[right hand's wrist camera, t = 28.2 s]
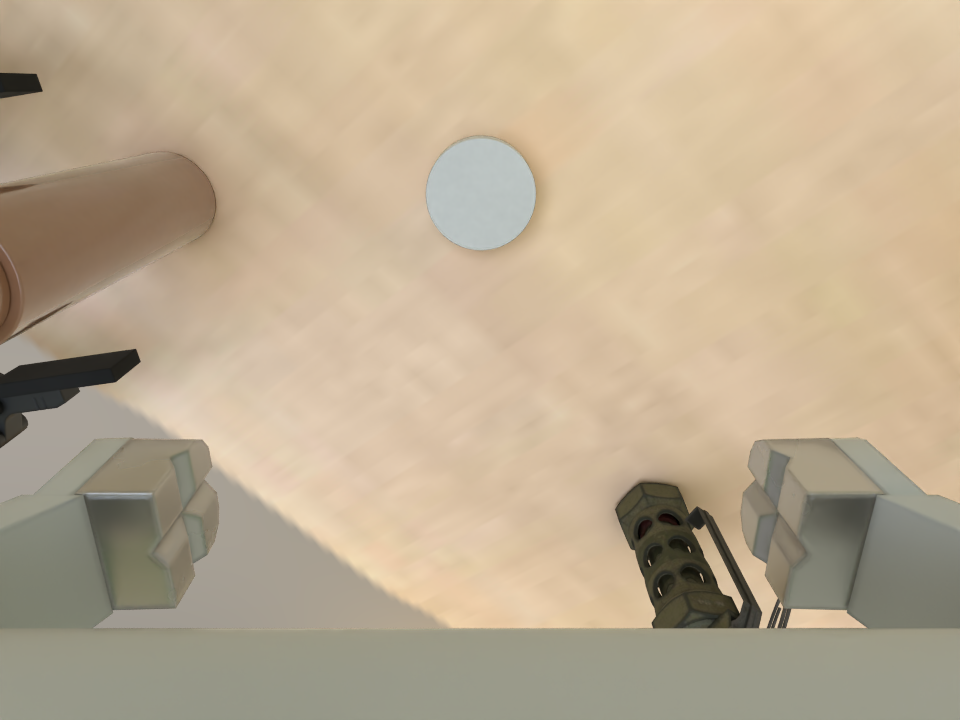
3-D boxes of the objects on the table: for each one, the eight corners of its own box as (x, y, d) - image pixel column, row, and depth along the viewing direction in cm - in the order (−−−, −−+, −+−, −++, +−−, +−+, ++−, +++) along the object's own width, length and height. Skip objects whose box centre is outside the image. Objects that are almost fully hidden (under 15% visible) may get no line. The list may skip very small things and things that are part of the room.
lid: (544, 224, 39) (548, 232, 37) (447, 254, 40) (445, 263, 38) (516, 121, 37) (518, 123, 35) (414, 154, 38) (410, 158, 36)
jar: (106, 197, 39) (-228, 296, 20) (160, 131, 37) (-145, 174, 19) (179, 261, 40) (-72, 408, 22) (234, 199, 39) (15, 301, 20)
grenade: (657, 568, 48) (729, 765, 34) (594, 527, 47) (642, 714, 33) (746, 482, 45) (863, 657, 32) (682, 436, 44) (775, 597, 30)
